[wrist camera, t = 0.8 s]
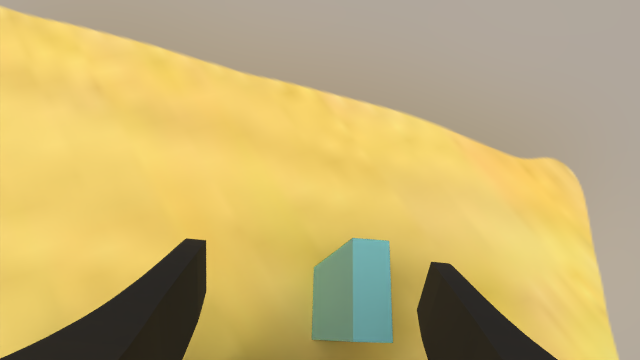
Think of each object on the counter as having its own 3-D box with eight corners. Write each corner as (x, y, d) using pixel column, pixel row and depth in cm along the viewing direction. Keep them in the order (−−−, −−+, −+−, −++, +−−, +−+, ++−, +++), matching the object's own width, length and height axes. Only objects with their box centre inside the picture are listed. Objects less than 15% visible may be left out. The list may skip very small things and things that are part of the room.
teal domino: (339, 340, 29) (392, 342, 20) (311, 339, 28) (353, 341, 19) (340, 268, 31) (389, 240, 21) (314, 267, 30) (352, 238, 21)
